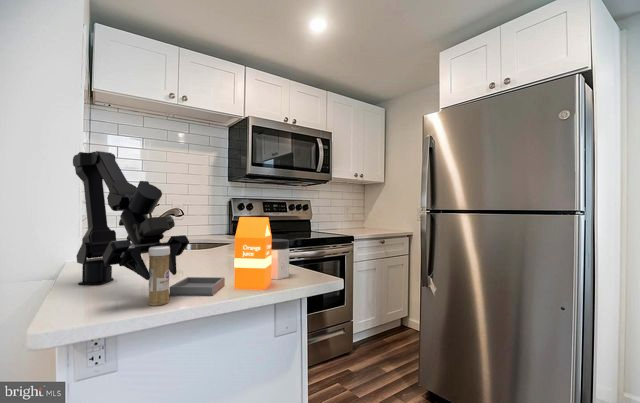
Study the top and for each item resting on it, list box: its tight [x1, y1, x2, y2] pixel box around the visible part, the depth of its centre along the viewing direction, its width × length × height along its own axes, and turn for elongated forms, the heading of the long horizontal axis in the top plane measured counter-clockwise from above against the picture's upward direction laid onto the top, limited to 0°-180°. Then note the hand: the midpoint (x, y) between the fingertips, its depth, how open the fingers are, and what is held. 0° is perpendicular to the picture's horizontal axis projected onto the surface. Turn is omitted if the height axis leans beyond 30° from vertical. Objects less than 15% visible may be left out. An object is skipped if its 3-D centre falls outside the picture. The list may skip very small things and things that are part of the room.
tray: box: [169, 276, 226, 297], centre depth 88 cm, size 11×11×2 cm
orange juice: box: [233, 216, 273, 291], centre depth 93 cm, size 8×9×20 cm
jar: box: [271, 238, 290, 280], centre depth 105 cm, size 9×8×12 cm
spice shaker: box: [147, 246, 170, 307], centre depth 76 cm, size 5×5×13 cm
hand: (162, 276), depth 75 cm, fingers open, 6 cm apart
